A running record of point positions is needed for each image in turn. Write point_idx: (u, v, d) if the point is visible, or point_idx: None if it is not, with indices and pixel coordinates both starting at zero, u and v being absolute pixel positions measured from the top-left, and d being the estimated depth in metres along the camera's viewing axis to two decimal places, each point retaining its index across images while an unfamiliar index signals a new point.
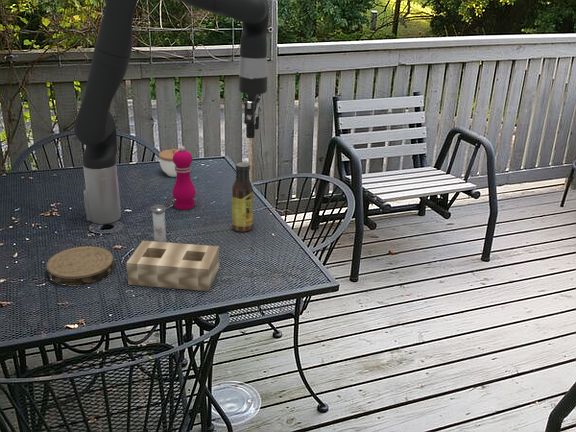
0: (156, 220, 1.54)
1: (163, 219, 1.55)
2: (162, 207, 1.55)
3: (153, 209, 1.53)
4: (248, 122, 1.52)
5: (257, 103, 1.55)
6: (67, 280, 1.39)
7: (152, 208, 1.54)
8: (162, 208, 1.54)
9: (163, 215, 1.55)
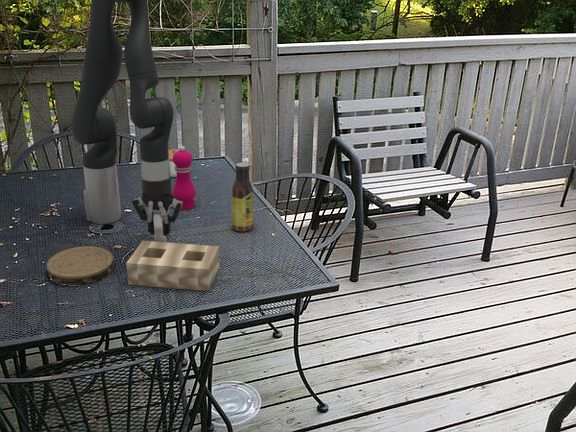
0: (156, 220, 1.54)
1: None
2: None
3: (153, 209, 1.53)
4: (175, 219, 1.55)
5: None
6: (67, 280, 1.39)
7: None
8: None
9: None
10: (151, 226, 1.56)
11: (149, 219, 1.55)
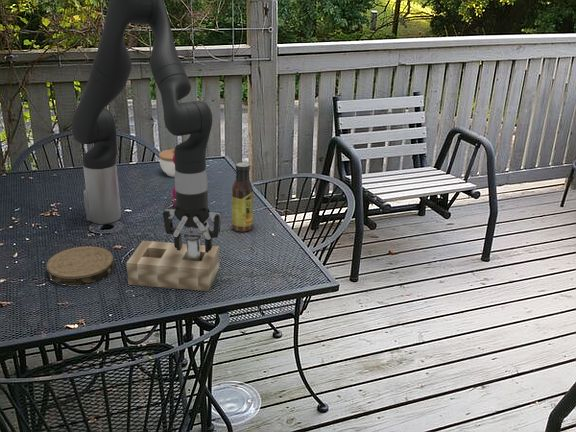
0: (191, 248, 1.41)
1: (198, 246, 1.42)
2: (197, 233, 1.41)
3: (188, 236, 1.40)
4: (218, 234, 1.40)
5: None
6: (67, 280, 1.39)
7: (186, 235, 1.40)
8: (197, 235, 1.40)
9: (198, 242, 1.41)
10: (178, 241, 1.41)
11: (176, 233, 1.40)
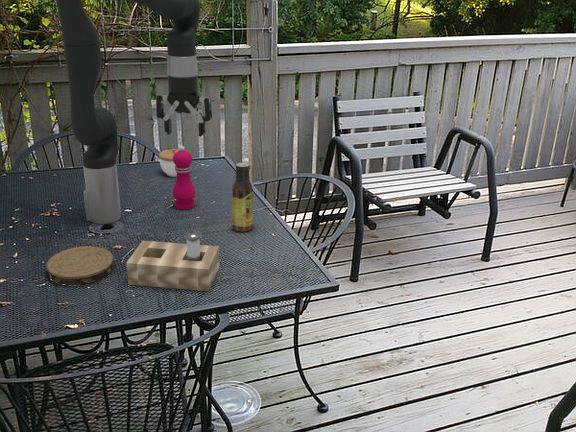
0: (191, 248, 1.41)
1: (198, 246, 1.42)
2: (197, 233, 1.41)
3: (188, 236, 1.40)
4: (210, 118, 1.51)
5: None
6: (67, 280, 1.39)
7: (186, 235, 1.40)
8: (197, 235, 1.40)
9: (198, 242, 1.41)
10: (167, 124, 1.52)
11: (166, 117, 1.51)
